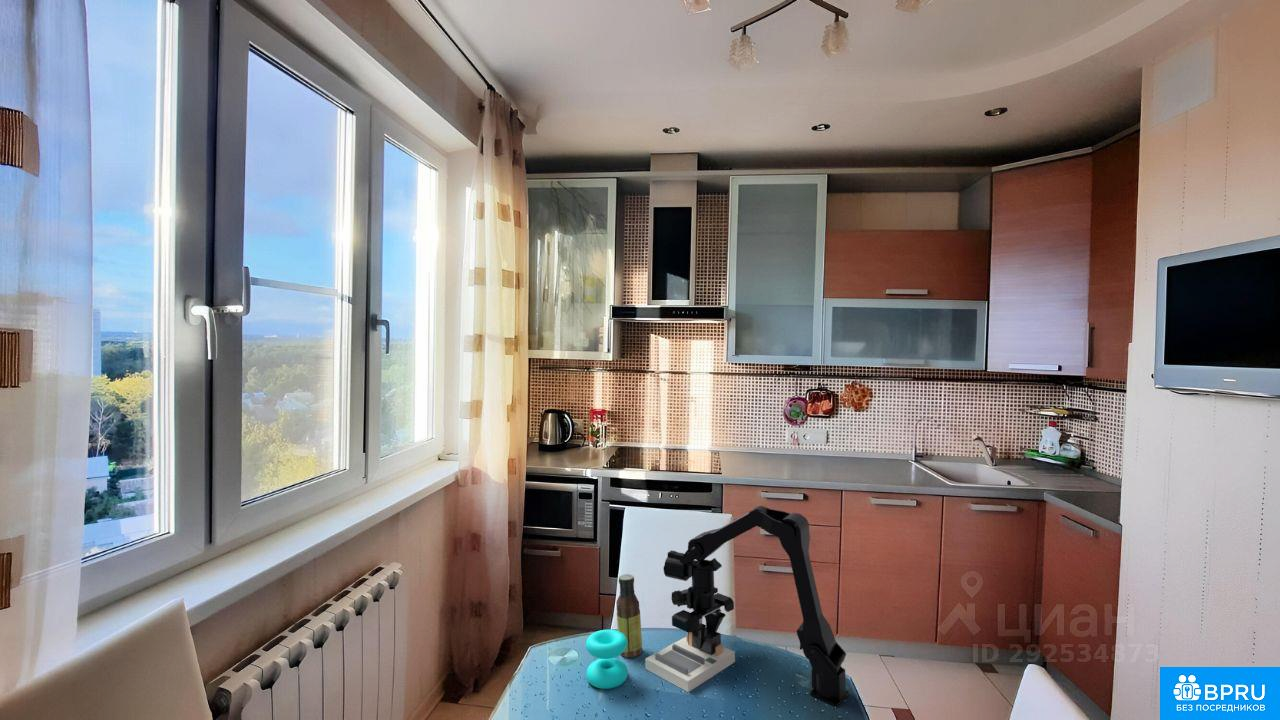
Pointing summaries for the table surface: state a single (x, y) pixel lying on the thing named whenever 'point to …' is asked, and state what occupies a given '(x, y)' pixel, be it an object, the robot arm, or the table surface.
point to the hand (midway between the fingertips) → (704, 645)
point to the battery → (707, 641)
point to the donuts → (606, 659)
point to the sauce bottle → (629, 616)
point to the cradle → (688, 664)
